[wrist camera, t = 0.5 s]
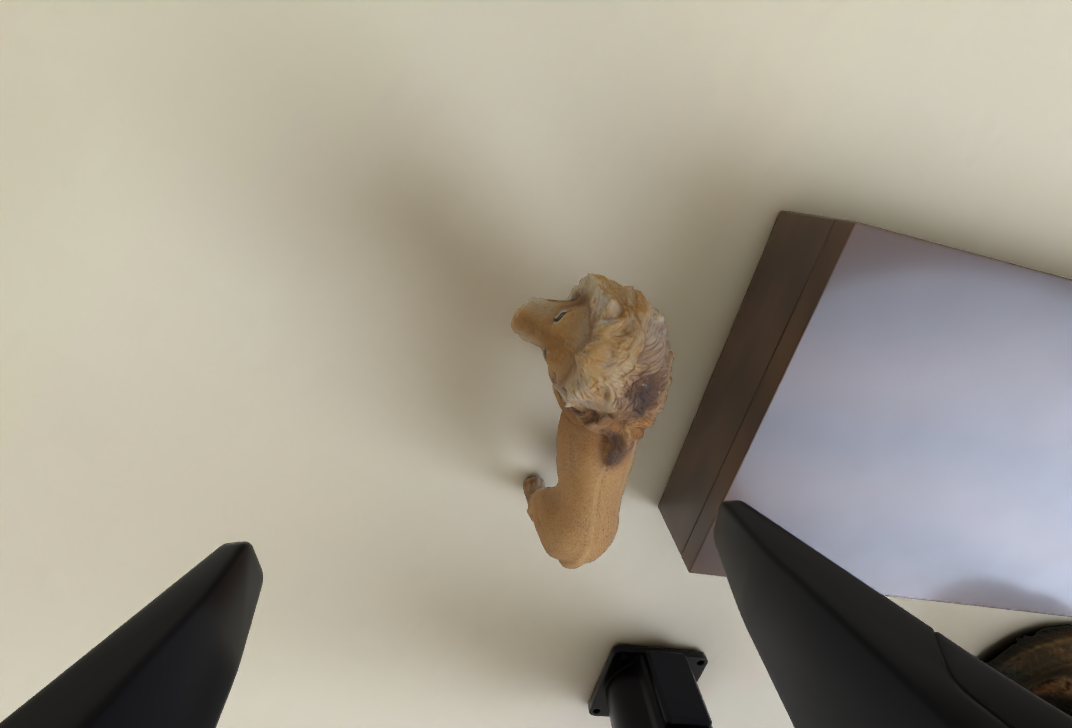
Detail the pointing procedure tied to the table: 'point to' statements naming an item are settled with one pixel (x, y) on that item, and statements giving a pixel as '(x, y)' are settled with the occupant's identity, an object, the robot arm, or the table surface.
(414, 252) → the table surface
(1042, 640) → the owl figurine
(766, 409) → the shelf
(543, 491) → the lion figurine
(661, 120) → the table surface
